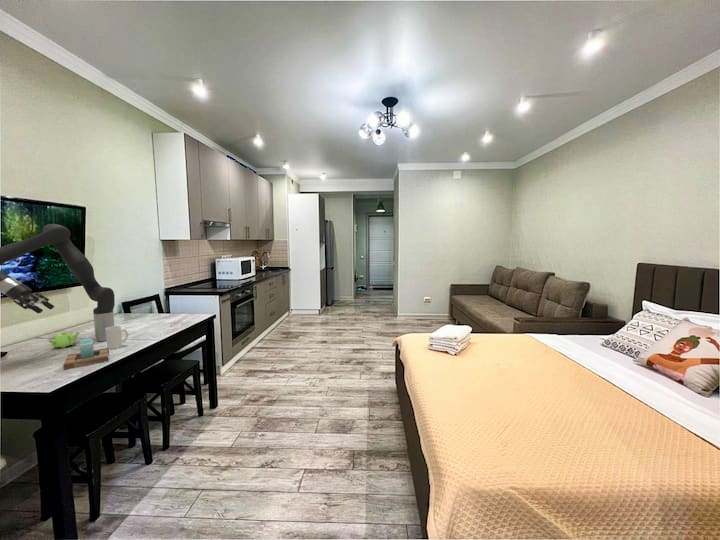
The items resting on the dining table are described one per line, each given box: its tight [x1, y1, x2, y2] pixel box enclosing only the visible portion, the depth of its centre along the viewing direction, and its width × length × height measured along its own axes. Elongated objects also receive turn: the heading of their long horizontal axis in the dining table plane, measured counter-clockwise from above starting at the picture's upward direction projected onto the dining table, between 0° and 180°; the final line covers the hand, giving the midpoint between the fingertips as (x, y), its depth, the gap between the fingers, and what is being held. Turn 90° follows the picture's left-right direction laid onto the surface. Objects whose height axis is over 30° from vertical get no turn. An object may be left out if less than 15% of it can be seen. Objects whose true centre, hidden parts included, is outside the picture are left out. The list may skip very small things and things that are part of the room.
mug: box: [106, 325, 129, 350], centre depth 164 cm, size 10×7×12 cm, turn 114°
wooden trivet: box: [62, 347, 110, 371], centre depth 146 cm, size 16×16×2 cm
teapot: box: [47, 331, 80, 349], centre depth 164 cm, size 11×12×8 cm
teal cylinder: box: [79, 337, 95, 360], centre depth 145 cm, size 5×5×11 cm
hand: (47, 310), depth 142 cm, fingers open, 8 cm apart
